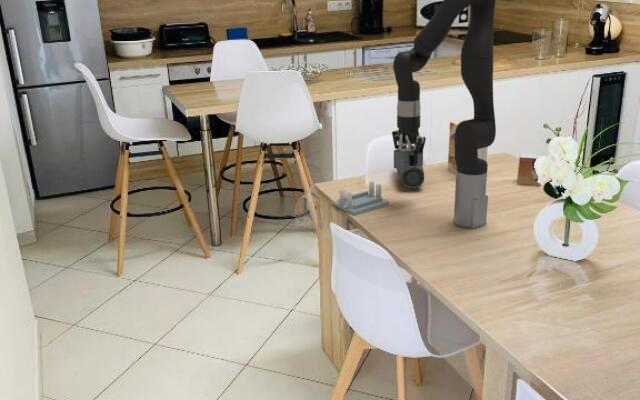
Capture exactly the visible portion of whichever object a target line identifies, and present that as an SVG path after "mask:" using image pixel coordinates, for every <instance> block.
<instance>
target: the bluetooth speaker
mask: <svg viewBox="0 0 640 400" xmlns="http://www.w3.org/2000/svg"><path fill="white" fill-rule="evenodd" d="M396 173H397V175H398V178H399V180H400V182H401V183H402V184H403V186H404V187H406V188H407V189H417V188H420V187H421V186H422V185H423V183H424V181H425V172H424V167H423V165H422V166H418V167H415V168H411V169H408V170H404V171H402V170H399V169H396Z"/></svg>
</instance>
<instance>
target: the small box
mask: <svg viewBox="0 0 640 400" xmlns="http://www.w3.org/2000/svg"><path fill="white" fill-rule="evenodd" d="M541 156H543V154H535V153H534V154H533V153H523V152H520V153H519V159H518V165H517V166H518V167H517V178H516V185H521V186H522V185H525V186H531V187H540V186H541V183H540V184H539V183H538V182H537V181H538V176H537V174H536V171H535V168H534V163H535V161H536V159H537V158H539V157H541Z"/></svg>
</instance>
